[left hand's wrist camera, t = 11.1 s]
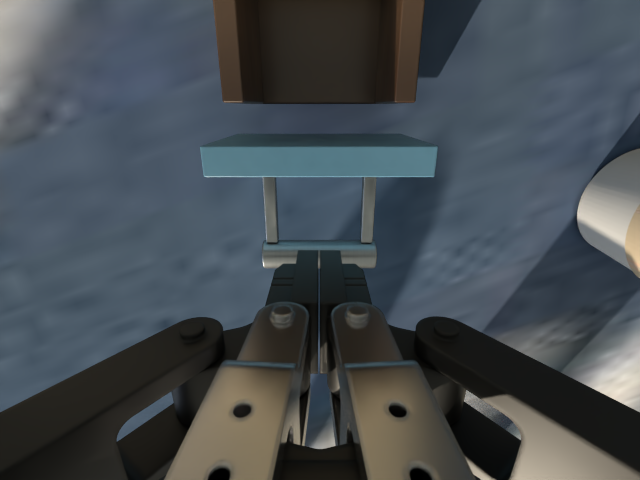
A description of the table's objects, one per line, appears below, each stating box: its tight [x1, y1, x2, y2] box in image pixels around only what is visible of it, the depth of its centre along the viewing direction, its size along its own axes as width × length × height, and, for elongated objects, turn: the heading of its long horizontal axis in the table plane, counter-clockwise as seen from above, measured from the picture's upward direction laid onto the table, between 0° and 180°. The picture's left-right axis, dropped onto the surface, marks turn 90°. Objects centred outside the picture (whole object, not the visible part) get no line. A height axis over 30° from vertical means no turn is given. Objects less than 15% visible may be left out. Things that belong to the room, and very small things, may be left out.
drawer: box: [200, 0, 438, 268], centre depth 14 cm, size 24×9×6 cm, turn 0°
